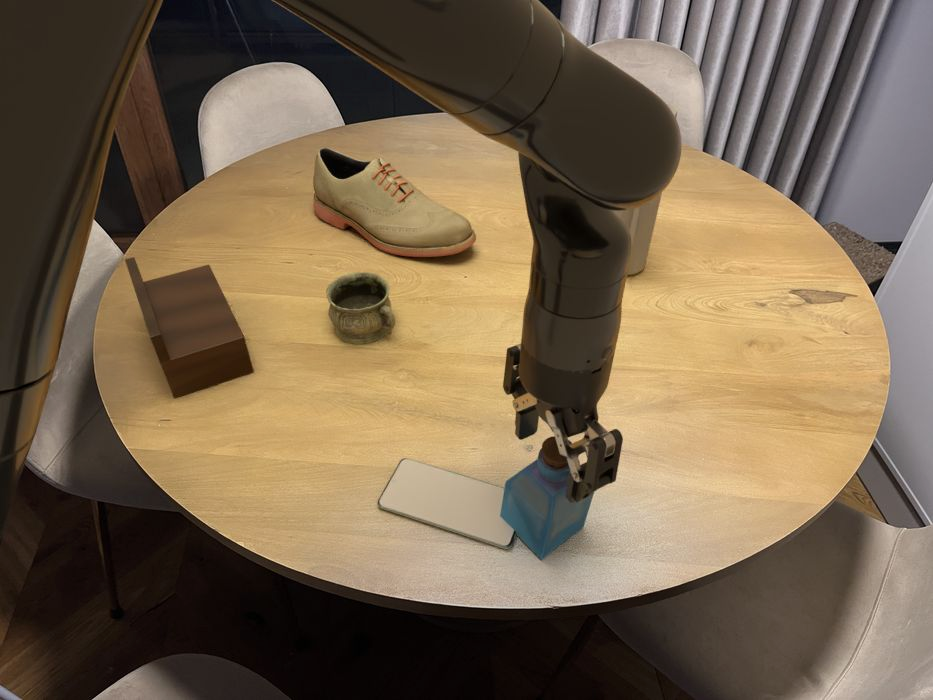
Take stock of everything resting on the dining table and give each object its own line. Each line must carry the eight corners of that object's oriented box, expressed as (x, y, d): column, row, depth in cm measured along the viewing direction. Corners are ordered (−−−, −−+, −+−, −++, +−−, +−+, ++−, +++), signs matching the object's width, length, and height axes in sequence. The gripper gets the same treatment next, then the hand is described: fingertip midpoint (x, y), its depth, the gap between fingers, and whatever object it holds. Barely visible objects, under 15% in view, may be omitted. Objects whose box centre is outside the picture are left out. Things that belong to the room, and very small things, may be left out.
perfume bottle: (542, 488, 74) (558, 414, 66) (583, 527, 70) (605, 454, 62) (499, 517, 71) (511, 443, 63) (540, 559, 67) (558, 487, 59)
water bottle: (597, 249, 110) (623, 96, 94) (646, 254, 109) (681, 101, 93) (595, 282, 103) (623, 123, 87) (648, 287, 102) (685, 128, 86)
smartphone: (510, 548, 68) (375, 504, 71) (510, 551, 68) (375, 507, 72) (530, 495, 73) (402, 456, 76) (529, 498, 73) (402, 459, 77)
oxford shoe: (454, 277, 104) (454, 210, 96) (293, 222, 115) (281, 158, 107) (488, 243, 111) (491, 178, 103) (334, 195, 122) (326, 133, 115)
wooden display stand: (253, 372, 87) (237, 311, 81) (174, 398, 84) (150, 337, 77) (218, 298, 99) (202, 239, 92) (147, 318, 95) (124, 259, 89)
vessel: (415, 324, 95) (413, 288, 91) (375, 360, 89) (372, 323, 85) (350, 296, 100) (345, 260, 96) (308, 327, 94) (301, 291, 90)
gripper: (483, 301, 57) (479, 430, 68) (585, 409, 48) (561, 538, 59) (556, 276, 60) (541, 403, 71) (666, 374, 51) (629, 503, 61)
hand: (550, 464), depth 65 cm, fingers open, 8 cm apart
